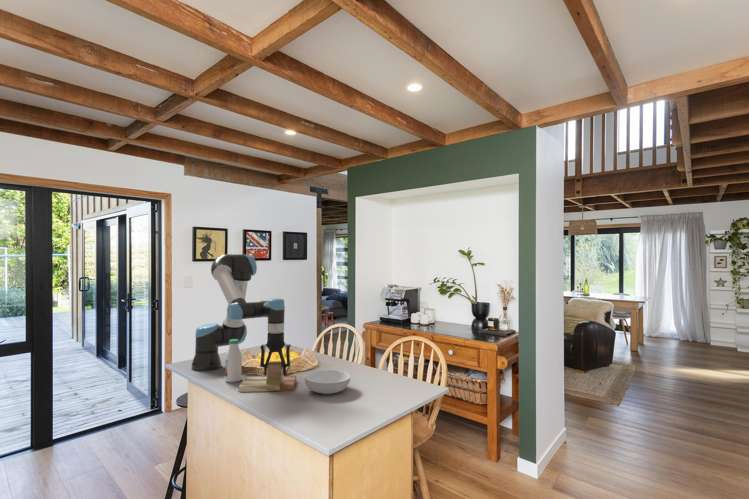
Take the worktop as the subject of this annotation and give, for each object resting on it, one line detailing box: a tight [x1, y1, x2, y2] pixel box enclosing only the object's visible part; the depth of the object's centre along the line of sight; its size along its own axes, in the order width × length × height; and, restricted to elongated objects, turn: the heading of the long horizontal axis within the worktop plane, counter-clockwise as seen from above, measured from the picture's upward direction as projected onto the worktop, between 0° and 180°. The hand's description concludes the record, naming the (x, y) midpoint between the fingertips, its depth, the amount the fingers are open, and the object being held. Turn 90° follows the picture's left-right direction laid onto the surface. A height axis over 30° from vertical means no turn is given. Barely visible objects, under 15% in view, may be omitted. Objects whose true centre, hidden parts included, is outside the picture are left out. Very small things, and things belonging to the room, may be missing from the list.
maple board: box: [238, 375, 297, 393], centre depth 183 cm, size 14×24×2 cm, turn 95°
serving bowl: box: [304, 369, 351, 395], centre depth 178 cm, size 21×21×7 cm
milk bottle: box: [224, 339, 243, 383], centre depth 192 cm, size 8×8×20 cm
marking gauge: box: [266, 360, 283, 390], centre depth 180 cm, size 8×6×11 cm
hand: (275, 381), depth 181 cm, fingers closed on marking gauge, 6 cm apart
